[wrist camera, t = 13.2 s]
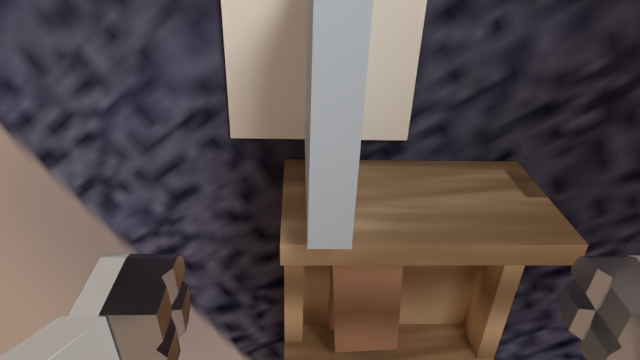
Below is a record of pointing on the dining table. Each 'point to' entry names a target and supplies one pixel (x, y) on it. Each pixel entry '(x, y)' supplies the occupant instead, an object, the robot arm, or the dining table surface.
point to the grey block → (334, 116)
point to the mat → (290, 67)
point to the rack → (425, 254)
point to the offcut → (366, 307)
